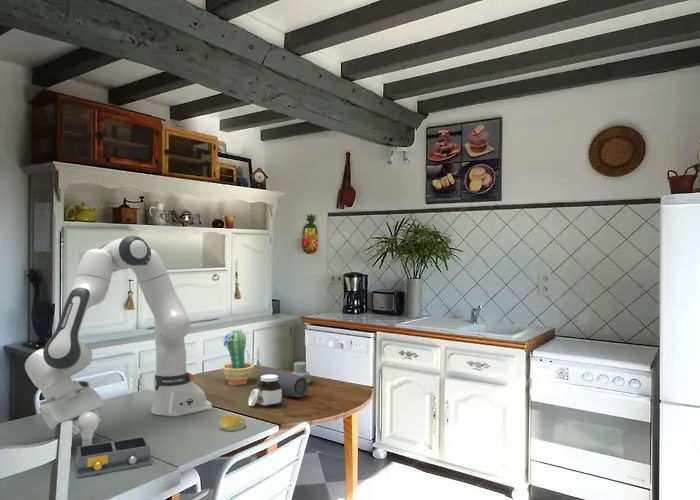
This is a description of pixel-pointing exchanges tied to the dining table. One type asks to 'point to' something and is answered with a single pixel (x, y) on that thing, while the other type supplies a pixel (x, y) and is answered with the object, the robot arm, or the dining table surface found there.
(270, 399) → the spread jar
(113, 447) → the grey rectangular box
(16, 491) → the dining table surface
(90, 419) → the lightbulb
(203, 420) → the dining table surface
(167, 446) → the dining table surface
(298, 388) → the bluetooth speaker
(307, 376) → the air freshener
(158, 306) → the robot arm
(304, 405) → the dining table surface
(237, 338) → the potted cactus
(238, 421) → the bread roll
